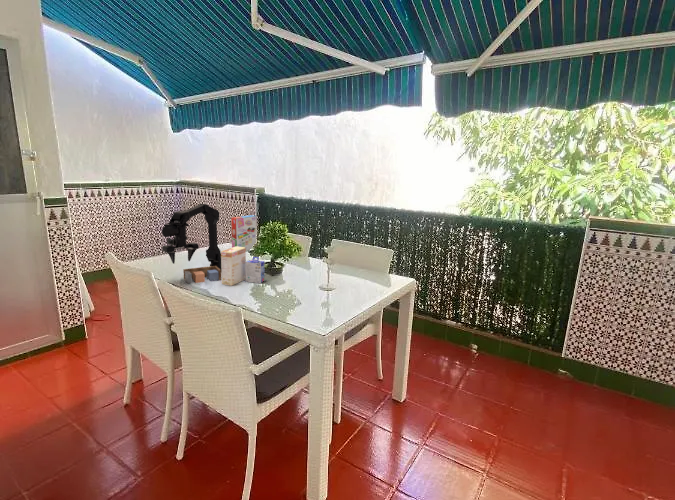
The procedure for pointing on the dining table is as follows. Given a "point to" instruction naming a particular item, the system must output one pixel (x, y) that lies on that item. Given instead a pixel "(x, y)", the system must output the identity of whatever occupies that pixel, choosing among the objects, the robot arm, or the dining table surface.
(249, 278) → the ink cartridge box
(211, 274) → the blue-grey plain cube block
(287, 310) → the dining table surface
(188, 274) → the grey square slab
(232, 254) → the coffeecake box
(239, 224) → the game box
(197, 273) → the salmon rectangular block
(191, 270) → the shelf
